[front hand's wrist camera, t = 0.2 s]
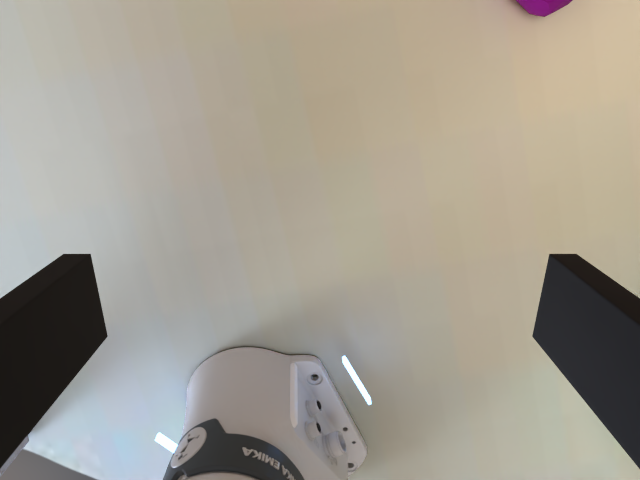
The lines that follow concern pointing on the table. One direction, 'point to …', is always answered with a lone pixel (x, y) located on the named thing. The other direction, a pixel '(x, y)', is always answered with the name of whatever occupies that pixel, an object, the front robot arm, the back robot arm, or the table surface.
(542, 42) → the table surface
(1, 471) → the vintage mobile phone
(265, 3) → the table surface
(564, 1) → the spray bottle
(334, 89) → the table surface
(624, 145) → the table surface
